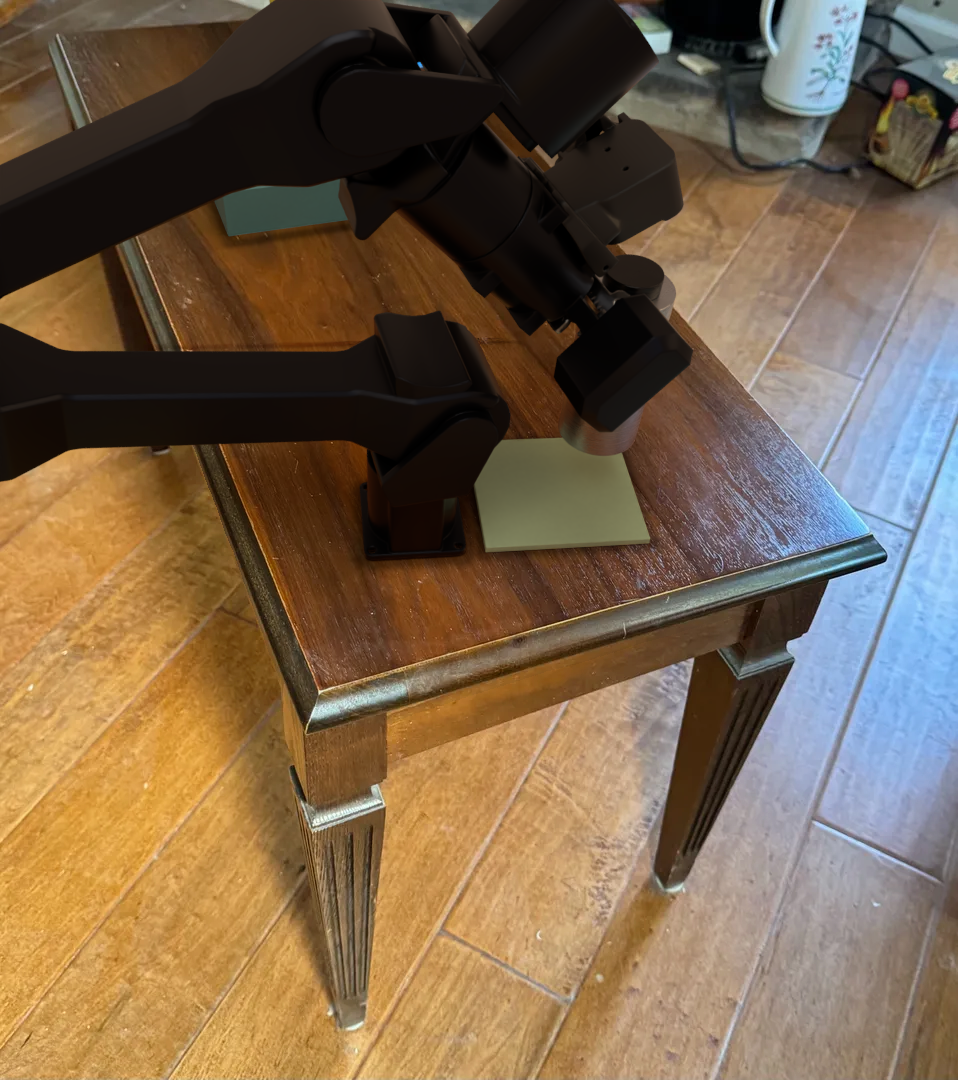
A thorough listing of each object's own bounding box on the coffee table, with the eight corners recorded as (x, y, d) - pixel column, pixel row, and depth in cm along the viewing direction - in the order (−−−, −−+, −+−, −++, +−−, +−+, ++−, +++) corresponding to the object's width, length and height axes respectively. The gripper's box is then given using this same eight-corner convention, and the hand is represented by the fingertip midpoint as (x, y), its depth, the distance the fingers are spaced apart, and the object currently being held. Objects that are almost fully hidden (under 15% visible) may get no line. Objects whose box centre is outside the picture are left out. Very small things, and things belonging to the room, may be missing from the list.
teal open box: (368, 224, 86) (368, 174, 82) (229, 244, 82) (222, 192, 78) (322, 143, 95) (319, 95, 91) (195, 157, 91) (187, 108, 88)
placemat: (649, 543, 62) (650, 538, 62) (485, 552, 61) (485, 547, 61) (615, 440, 69) (616, 435, 69) (465, 446, 67) (466, 440, 67)
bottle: (566, 457, 60) (600, 297, 51) (551, 403, 64) (581, 245, 55) (644, 455, 61) (691, 297, 52) (625, 402, 64) (667, 245, 55)
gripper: (710, 182, 39) (831, 355, 50) (528, 6, 50) (662, 181, 61) (512, 368, 42) (668, 489, 54) (383, 165, 53) (535, 302, 65)
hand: (633, 353), depth 58 cm, fingers closed on bottle, 5 cm apart
